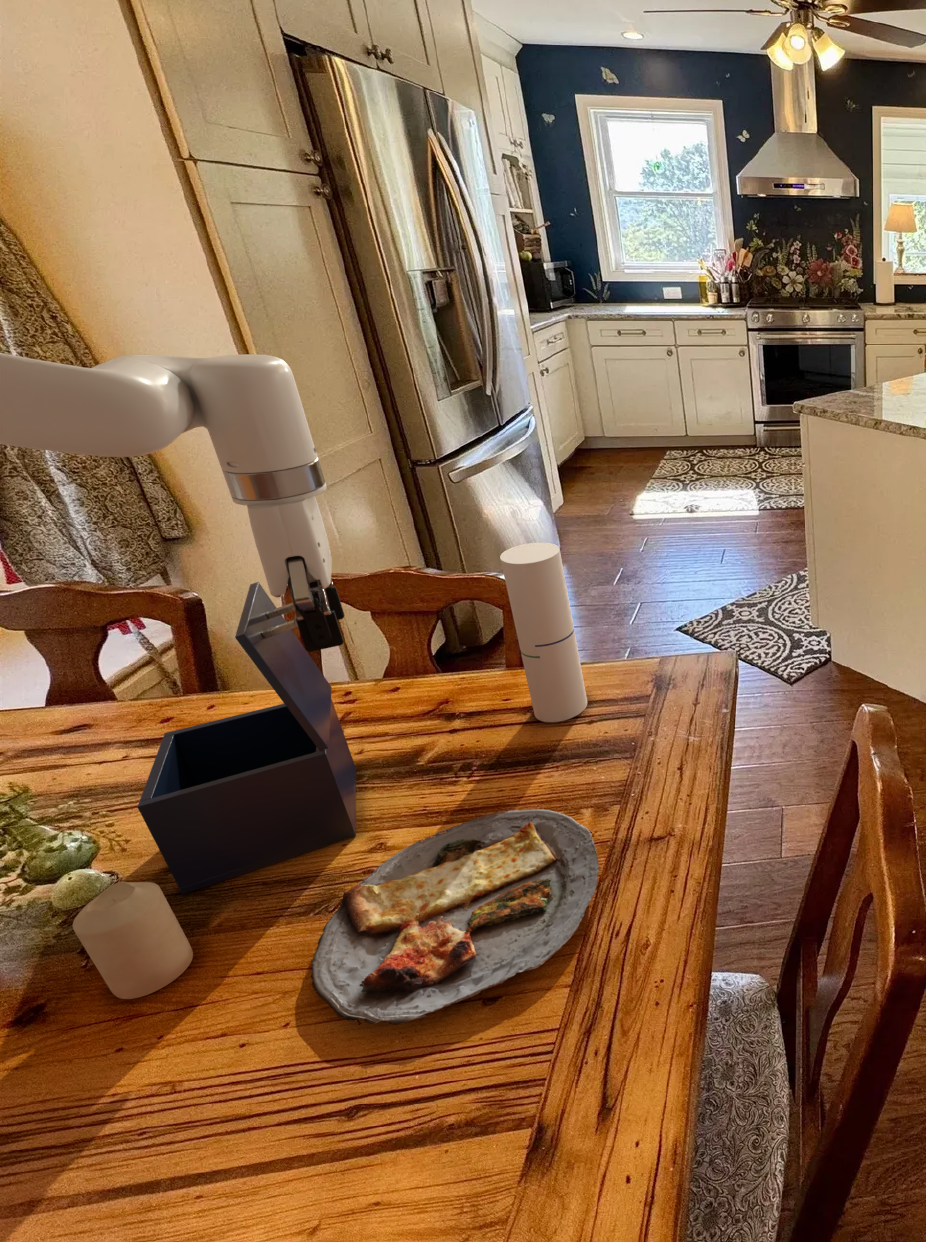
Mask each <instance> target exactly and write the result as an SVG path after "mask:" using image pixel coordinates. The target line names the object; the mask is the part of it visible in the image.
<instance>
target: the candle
mask: <svg viewBox="0 0 926 1242" xmlns="http://www.w3.org/2000/svg"><path fill="white" fill-rule="evenodd" d="M72 930H73V932H74V933H75V935H76V936H77V938H78V940H79V941H80V943H81V945H82V946H83V948H84V950H85V952H86V953H87V955H88V956H89V957H90V959H91V961H92V962H93V964H94V966H95V968H96V969H97V971H98V972H99V974H100V976H101V977H102V979H103V981H104V982H105V984H106V986H107V987H108V989H109V990H110V992H111V993H112V995H113V996H115V997H116V998H118V999H121V1000H132V999H138V998H142V997H145V996H148V995H151V994H153V993H155V992H157V991H159V990H161V989H162V988H165V987H166V986H168V985H169V984H171V983H173V982H174V981H175V980H176V979H177V978H179V977H180V976H182V974H183V973H184V972H185V971H186V970H187V969H188V967H189V966H190V965H191V963H192V961H193V958H194V951H193V948H192V946H191V944H190V942H189V939H188V938H187V936H186V935H185V933H184V929H183V928H182V927H181V924H180V923H179V921H178V918H177V917H176V915H175V913H174V911H173V910H172V908H171V906H170V904H169V902H168V901H167V898H166V896H165V894H164V893H163V890H162V889H161V886H160V885H158V884H157V883H155V882H151V881H131V882H130V881H129V882H128V881H118V882H115V883H114V884H112V885H110V886H108V887H107V888H105V889H104V890H103V891H102V892H101V893H100V894H98V895H97V896H96V897H95V898H93V899H92V900H90V901H89V902H88V903H86V905H85V906H84V907H82V909H81V910H80V911H79V913H78V914H77V915H76V916H75V918H74V919H73V922H72Z"/></svg>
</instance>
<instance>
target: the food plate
mask: <svg viewBox="0 0 926 1242" xmlns="http://www.w3.org/2000/svg"><path fill="white" fill-rule="evenodd" d="M599 863H600V860H599V855H598V852H597V848H596V845H595V842H594V838H593V836H592V833H591V831H590V829H589V828H588V827H586V825H585V826H584V825H582V823H580V822H577V821H576V819H574V818H573V817H572V816H568V815H566V814H564V813H562V812H559V811H556V810H554V811H553V810H551V809H542V808H537V809H536V808H530V809H522V810H502V811H496V812H493V813H488V814H485V815H483V816H480V817H476V818H474V819H473V818H472V819H471V820H468V821H464V822H462V823H460V824H457V825H454V826H452V827H449V828H447V829H445V830H442V831H439V832H436V833H434V834H432V835H430V836H427V837H425V838H423V839H420V840H417V841H415V842H414V843H412V844H410V845H408V846H406V847H405V848H403V849H402V850H399V851H398V852H396V853H395V854H393V855H392V856H391V857H390V858H388V859H387V860H385V861H384V863H383V862H382V863H381V864H380V865H379V866H377V868H376V869H375V870H374V871H372V872H371V873H370V875H368V876H367V877H365V878H364V879H363V880H362V881H361V882H359V884H356V885H353V886H351V887H350V889H348V890H344V891H343V894H342V901H341V904H340V906H339V907H338V909H337V910H336V911H335V913H334V914H333V915H332V916H330V918H329V920H328V921H327V922H326V924H325V925H324V927H323V929H322V934H321V935H320V937H319V938H318V941H317V946H316V950H315V952H314V955H313V958H312V961H311V967H310V968H311V974H310V978H311V986H312V989H313V990H314V991H315V994H317V996H318V997H319V998H320V999H322V1000H323V1001H324V1002H325V1003H326V1004H327V1005H328V1006H329V1007H330V1008H331V1009H332V1010H333V1011H334V1013H335V1015H336V1017H339V1018H341V1019H343V1018H344V1019H345V1020H347V1021H351V1022H355V1021H356V1022H357V1023H358V1024H357V1025H358V1026H361V1024H363V1023H362V1022H360V1019H362V1020H363V1021H364V1022H367V1023H368V1024H369V1025H376V1024H377V1023H380V1022H382V1021H385V1022H388V1023H387V1024H389V1025H394V1026H395V1025H399V1024H403V1023H409V1022H411V1021H413V1020H417V1019H421V1018H426V1017H427V1015H426V1014H431V1013H435V1012H437V1011H438V1010H442V1009H443V1008H445V1007H449V1006H452V1005H454V1004H456V1003H460V1002H461V1001H464V1000H467V999H469V998H473V997H474V996H477V995H479V994H480V993H481V992H482V991H484V990H486V989H490V988H492V987H495V986H497V985H501V984H503V983H504V982H506V981H507V980H508V979H510V978H512V977H514V976H515V975H517V974H518V973H523V972H526V971H532V970H535V969H538V968H539V967H540V966H542V965H543V964H545V962H546V961H548V960H549V959H551V958H552V957H553V955H555V953H558V951H559V950H560V949H561V948H562V947H563V946H564V945H565V944H566V943H567V942H568V941H569V940H570V939H571V938H572V937H573V935H574V934H575V932H576V931H577V930H578V929H579V927H580V923H581V922H583V921H582V920H583V919H584V917H585V912H586V909H587V907H588V906H589V904H590V902H591V900H592V898H593V896H594V894H595V891H596V888H597V886H598V879H599V872H600V868H601V867H600V865H599Z"/></svg>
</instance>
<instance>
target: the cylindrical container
mask: <svg viewBox="0 0 926 1242" xmlns="http://www.w3.org/2000/svg"><path fill="white" fill-rule="evenodd" d="M560 549H561V548H560V546H559V545H557V544H555V543H551V542H543V541H542V542H541V541H540V542H530V543H529V542H528V543H522V544H519V545H516V546H513V547H511V548H507V549H506V550H504V551H503V552H502V553H501V554H500V555H499V558H500V563H501V568H502V572H503V577H504V581H505V586H506V591H507V596H508V599H509V605H510V609H511V614H512V618H513V624H514V627H515V632H516V637H517V641H518V646H519V650H520V656H521V660H522V664H523V669H524V673H525V678H526V682H527V686H528V691H529V696H530V697H529V698H530V700H531V701H530V702H531V705H532V709H533V716H534V717H535V718H536V719H537V720H539V721H540V722H544V723H559V722H565V721H567V720H570V719H572V718H574V717H577V716H578V715H580V714H581V713H582V712H584V711H585V709H586V708H587V706H588V698H587V692H586V687H585V681H584V680H585V679H584V676H583V671H582V670H583V669H582V665H581V659H580V653H579V648H578V642H577V637H576V632H575V627H574V620H573V615H572V609H571V604H570V599H569V592H568V587H567V582H566V576H565V571H564V566H563V559H562V554H561V550H560Z"/></svg>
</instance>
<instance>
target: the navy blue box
mask: <svg viewBox="0 0 926 1242" xmlns="http://www.w3.org/2000/svg"><path fill="white" fill-rule="evenodd" d="M144 785H145V786H144V788H143V791H142V794H141V795H140V798H139V802H138V804H137V809H138V811H139V813H140V815H141V817H142V819H143V822H144V823H145V825H146V827H147V829H148V830H149V832H150V835H151V836H152V839H153V841H154V842H155V844H156V847H157V849H158V850H159V852H160V854H161V856H162V859H163V860H164V862H165V864H166V866H167V867H168V870H169V872H170V874H171V876H172V877H173V879H174V881H175V883H176V885H177V887H178V889H179V891H180V893H181V895H186V894H189V893H192V892H194V891H197V890H200V889H204V888H206V887H209V886H212V885H216V884H219V883H221V882H224V881H227V880H230V879H234V878H236V877H239V876H242V875H245V874H248V873H252V872H254V871H256V870H259V869H263V868H266V867H268V866H272V865H275V864H277V863H281V862H284V861H286V860H289V859H293V858H296V857H298V856H301V855H305V854H307V853H310V852H313V851H316V850H319V849H322V848H325V847H328V846H331V845H333V844H336V843H339V842H343V841H346V840H348V839H349V840H350V839H351V838H354V837H356V836H357V767H356V765H355V761H354V758H353V756H352V753H351V750H350V747H349V744H348V741H347V739H346V736H345V733H344V730H343V727H342V724H341V722H340V719H339V716H338V713H337V710H336V707H335V704H334V702H333V698H331V709H330V728H329V747H328V749H325V750H323V751H319V749H318V748H317V747H316V745H315V744H314V743H313V741H312V740H311V739H310V737H309V736H308V735H307V733H306V732H305V731H304V729H303V728H302V727H301V725H300V724H299V723H298V721H297V720H296V719H295V717H294V716H293V715H292V713H291V712H290V711H289V709H288V708H287V707H286V705H285V704H284V703H281V704H280V703H279V704H277V705H276V704H275V705H272V706H268V707H264V708H261V709H260V708H259V709H257V710H252V711H249V712H244V713H241V714H236V715H233V716H228V717H223V718H220V719H216V720H211V721H207V722H204V723H200V724H196V725H195V724H194V725H192V726H187V727H184V728H183V727H182V728H179V729H176V730H172V731H168V732H164V733H163V736H162V740H161V742H160V745H159V747H158V750H157V753H156V756H155V757H154V761H153V764H152V767H151V769H150V772H149V774H148V777H147V779H146V782H145V784H144Z"/></svg>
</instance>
